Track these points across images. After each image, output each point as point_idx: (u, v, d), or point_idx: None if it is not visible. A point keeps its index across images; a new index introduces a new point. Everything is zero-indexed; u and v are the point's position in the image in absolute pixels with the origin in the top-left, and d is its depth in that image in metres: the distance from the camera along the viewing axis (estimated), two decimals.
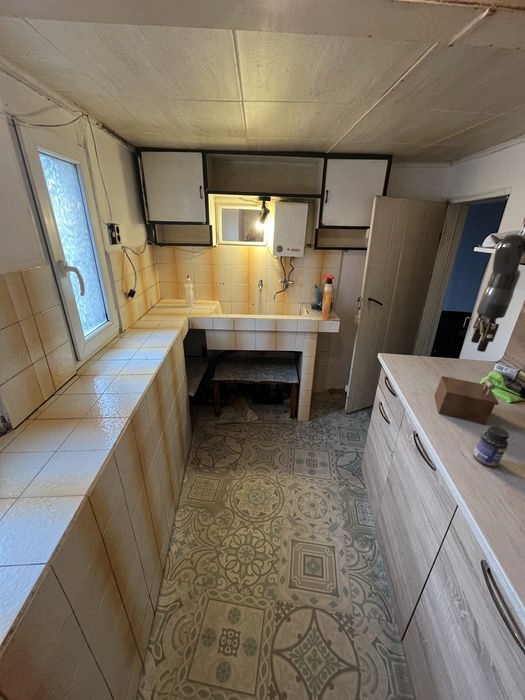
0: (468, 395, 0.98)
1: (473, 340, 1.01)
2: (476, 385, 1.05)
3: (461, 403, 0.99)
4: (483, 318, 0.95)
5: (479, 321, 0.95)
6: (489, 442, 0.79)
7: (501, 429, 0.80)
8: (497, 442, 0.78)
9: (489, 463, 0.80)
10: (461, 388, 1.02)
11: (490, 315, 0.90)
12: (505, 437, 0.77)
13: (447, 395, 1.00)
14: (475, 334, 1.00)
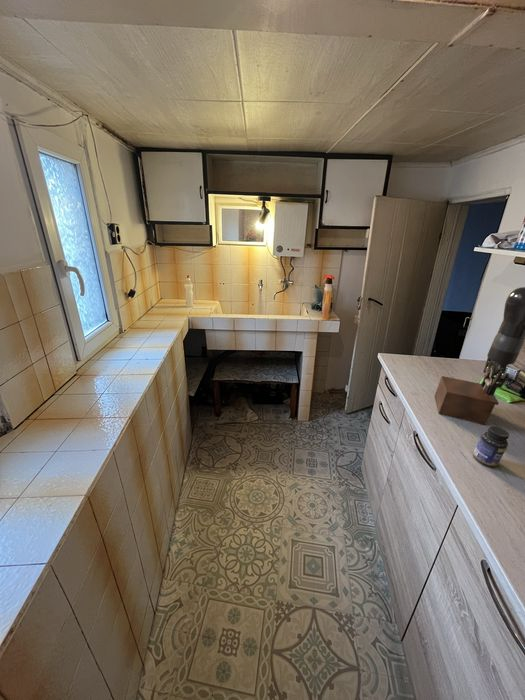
0: (468, 395, 0.98)
1: (483, 385, 1.02)
2: (476, 385, 1.05)
3: (461, 403, 0.99)
4: (493, 362, 0.97)
5: (490, 364, 0.97)
6: (489, 442, 0.79)
7: (501, 429, 0.80)
8: (497, 442, 0.78)
9: (489, 463, 0.80)
10: (461, 388, 1.02)
11: (501, 361, 0.92)
12: (505, 437, 0.77)
13: (447, 395, 1.00)
14: None
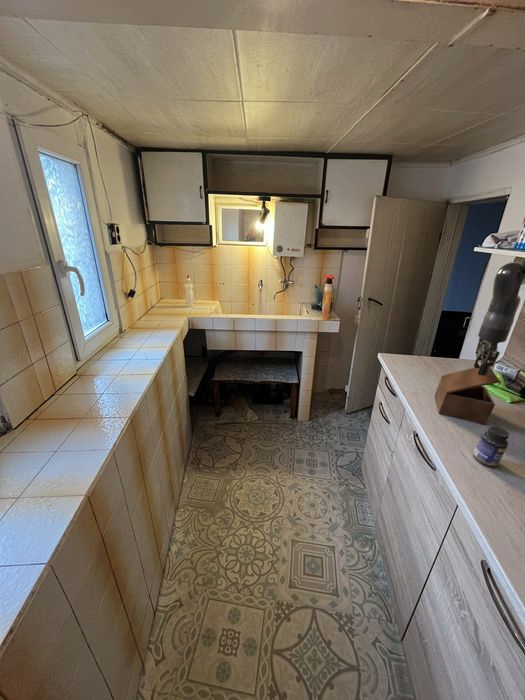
0: (467, 385, 0.97)
1: (476, 366, 1.01)
2: (475, 370, 1.03)
3: (461, 403, 0.99)
4: (485, 342, 0.95)
5: (481, 344, 0.96)
6: (489, 442, 0.79)
7: (501, 429, 0.80)
8: (497, 442, 0.78)
9: (489, 463, 0.80)
10: (460, 381, 1.01)
11: (492, 339, 0.91)
12: (505, 437, 0.77)
13: (447, 395, 1.00)
14: (478, 360, 1.00)
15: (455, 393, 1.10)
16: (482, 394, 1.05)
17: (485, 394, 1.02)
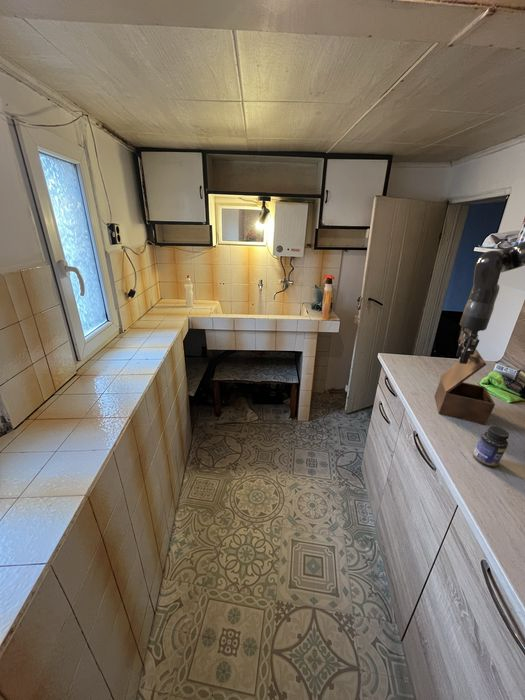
0: (461, 378, 0.97)
1: (458, 355, 1.02)
2: None
3: (461, 403, 0.99)
4: (466, 330, 0.96)
5: (462, 333, 0.97)
6: (489, 442, 0.79)
7: (501, 429, 0.80)
8: (497, 442, 0.78)
9: (489, 463, 0.80)
10: (455, 375, 1.01)
11: (472, 328, 0.92)
12: (505, 437, 0.77)
13: (447, 395, 1.00)
14: (460, 349, 1.01)
15: (455, 393, 1.10)
16: (482, 394, 1.05)
17: (485, 394, 1.02)
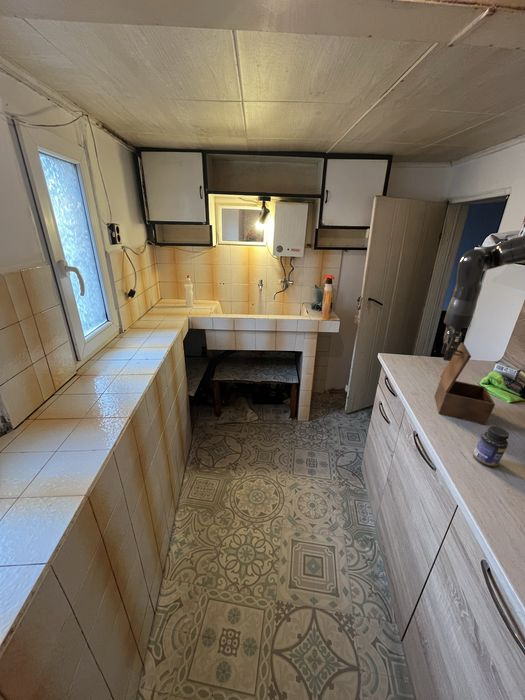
0: (454, 375, 0.97)
1: (443, 352, 1.03)
2: (456, 354, 1.03)
3: (461, 403, 0.99)
4: (450, 328, 0.98)
5: (447, 330, 0.99)
6: (489, 442, 0.79)
7: (501, 429, 0.80)
8: (497, 442, 0.78)
9: (489, 463, 0.80)
10: (450, 373, 1.02)
11: (455, 325, 0.93)
12: (505, 437, 0.77)
13: (447, 395, 1.00)
14: (444, 346, 1.02)
15: (455, 393, 1.10)
16: (482, 394, 1.05)
17: (485, 394, 1.02)
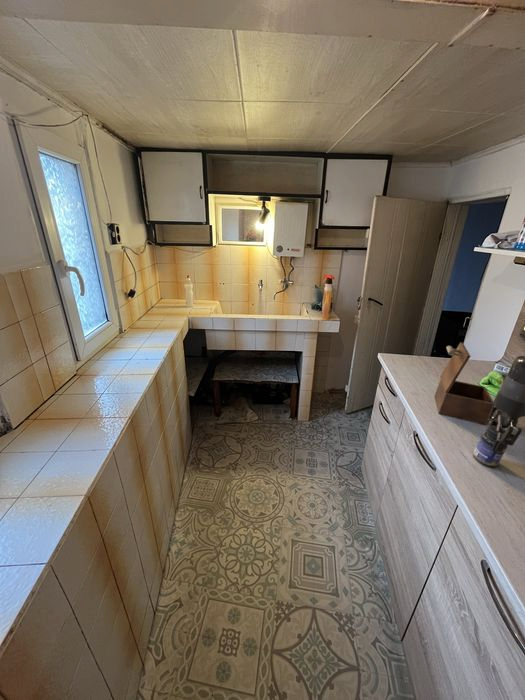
0: (454, 375, 0.97)
1: None
2: None
3: (461, 403, 0.99)
4: (501, 411, 0.78)
5: (496, 413, 0.78)
6: (489, 442, 0.79)
7: None
8: None
9: (489, 463, 0.80)
10: (450, 373, 1.02)
11: (512, 413, 0.73)
12: None
13: (447, 395, 1.00)
14: None
15: (455, 393, 1.10)
16: (482, 394, 1.05)
17: (485, 394, 1.02)
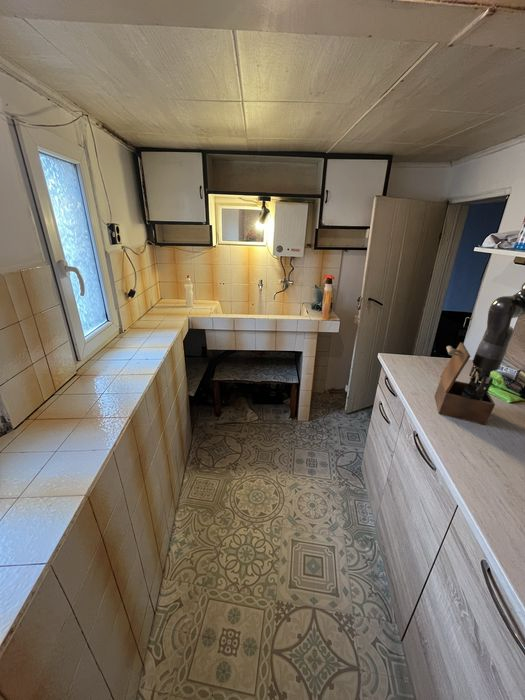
0: (454, 375, 0.97)
1: None
2: None
3: (461, 403, 0.99)
4: (478, 368, 0.99)
5: (475, 371, 1.00)
6: (469, 393, 1.01)
7: None
8: None
9: None
10: (450, 373, 1.02)
11: (485, 368, 0.94)
12: None
13: (447, 395, 1.00)
14: None
15: (455, 393, 1.10)
16: None
17: (485, 394, 1.02)
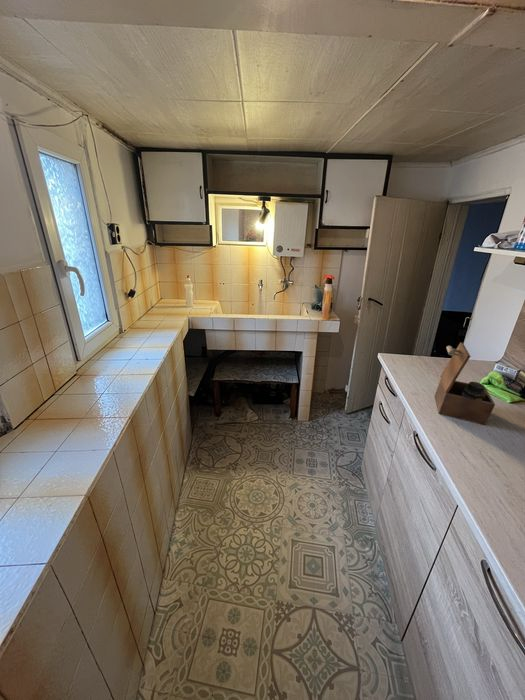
0: (454, 375, 0.97)
1: None
2: None
3: (461, 403, 0.99)
4: None
5: None
6: (469, 393, 1.01)
7: (479, 383, 1.01)
8: (475, 393, 1.00)
9: None
10: (450, 373, 1.02)
11: None
12: (481, 389, 0.99)
13: (447, 395, 1.00)
14: None
15: (455, 393, 1.10)
16: None
17: (485, 394, 1.02)
